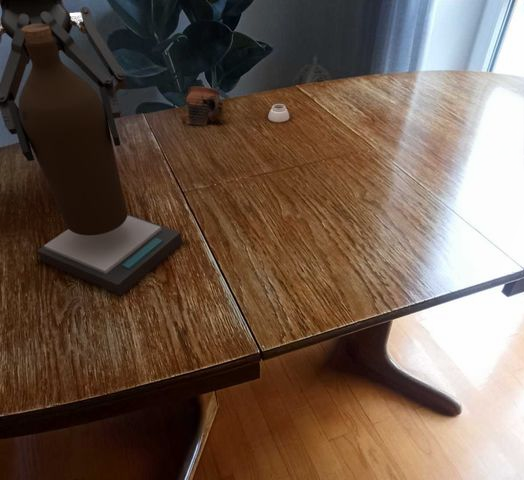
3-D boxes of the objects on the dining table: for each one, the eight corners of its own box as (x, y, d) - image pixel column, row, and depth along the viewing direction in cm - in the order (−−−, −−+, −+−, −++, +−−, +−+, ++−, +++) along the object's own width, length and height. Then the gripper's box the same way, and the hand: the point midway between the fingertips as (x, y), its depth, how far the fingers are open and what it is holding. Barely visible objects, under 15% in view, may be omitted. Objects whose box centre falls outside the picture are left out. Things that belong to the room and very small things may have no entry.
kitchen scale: (42, 263, 74) (35, 247, 72) (107, 218, 83) (102, 202, 81) (122, 297, 68) (116, 281, 66) (183, 245, 77) (180, 229, 75)
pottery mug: (174, 124, 110) (175, 85, 108) (204, 131, 117) (206, 95, 114) (207, 123, 103) (209, 81, 100) (237, 131, 110) (240, 92, 107)
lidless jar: (283, 113, 112) (265, 117, 111) (284, 100, 110) (264, 104, 109) (292, 121, 109) (273, 125, 108) (293, 108, 107) (273, 112, 105)
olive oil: (116, 242, 67) (56, 42, 49) (49, 235, 69) (-35, 39, 50) (141, 203, 74) (97, 16, 56) (80, 198, 76) (17, 13, 57)
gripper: (-91, -40, 53) (-33, 153, 55) (112, -56, 58) (160, 121, 59) (-61, 7, 60) (-10, 175, 62) (117, -12, 65) (160, 145, 67)
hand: (73, 149), depth 61 cm, fingers closed on olive oil, 11 cm apart
